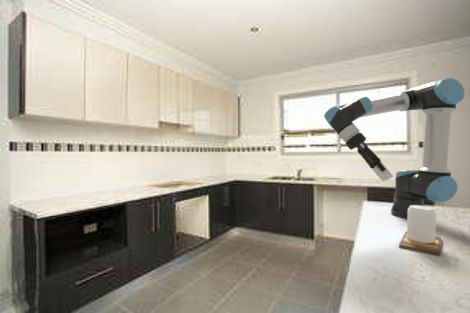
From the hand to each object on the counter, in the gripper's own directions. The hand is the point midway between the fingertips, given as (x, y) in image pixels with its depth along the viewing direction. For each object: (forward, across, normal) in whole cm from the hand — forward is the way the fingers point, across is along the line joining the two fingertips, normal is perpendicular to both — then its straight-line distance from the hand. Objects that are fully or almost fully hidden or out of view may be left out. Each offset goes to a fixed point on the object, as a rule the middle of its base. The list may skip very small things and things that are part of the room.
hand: (387, 179), depth 98 cm
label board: (+24, +2, -6) cm, 25 cm away
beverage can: (+23, +2, -5) cm, 24 cm away
